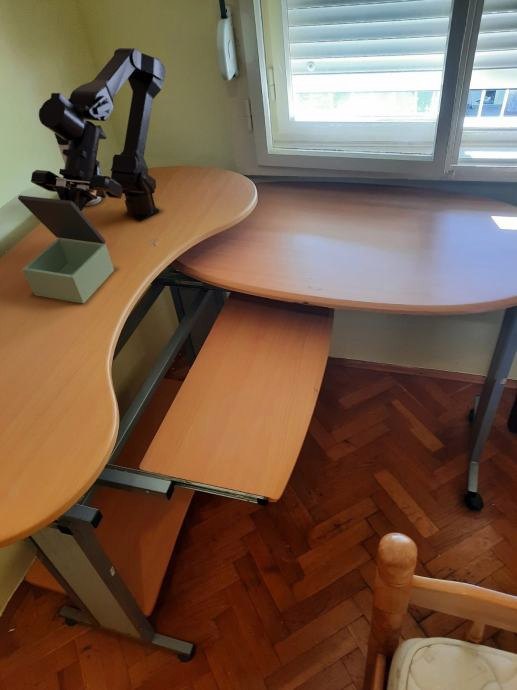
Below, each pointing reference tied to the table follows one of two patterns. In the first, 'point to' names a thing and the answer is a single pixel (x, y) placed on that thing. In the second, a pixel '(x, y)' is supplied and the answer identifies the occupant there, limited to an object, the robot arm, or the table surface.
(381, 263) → the table surface
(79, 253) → the sage green storage tray
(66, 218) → the dark flat rectangular panel
